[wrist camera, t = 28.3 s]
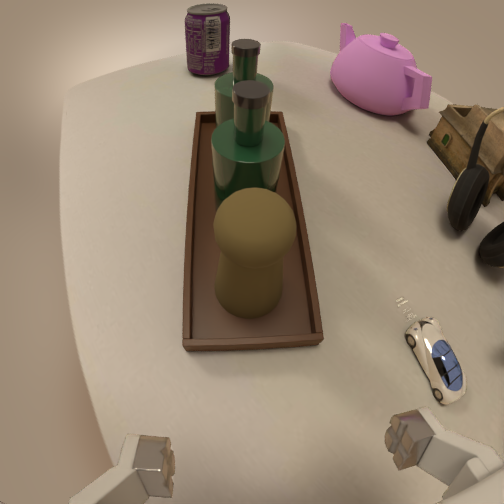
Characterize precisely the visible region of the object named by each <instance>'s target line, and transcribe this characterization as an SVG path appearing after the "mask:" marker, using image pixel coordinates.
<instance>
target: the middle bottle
mask: <svg viewBox="0 0 504 504" xmlns="http://www.w3.org/2000/svg"><path fill="white" fill-rule="evenodd" d="M269 97H270V88H269V87H268V86H267V85H266V84H264V83H262V82H259V81H254V80H245V81H241V82H238V83H236V84H235V85H234V86H233V88H232V101H233V103H234V118H233V119H230V120H227V121H225V122H223V123H221V124H220V125H219V126H217V127H216V129H215V130H214V131H213V133H212V137H211V146H212V165H213V183H214V199H215V210H216V212H217V209H218V208H219V206H220V205H221V204H222V202H223V201H224V200H225V199H226V198H228V197H229V196H230V195H232V194H233V193H234V192H237V191H239V190H242V189H245V188H255V187H256V188H263V189H267V190H270V191H272V192H275V193H276V192H277V186H278V180H279V174H280V169H281V163H282V157H283V151H284V146H285V138H284V135H283V133H282V132H281V130H280V129H279V128H278V127H277V126H275V125H274V124H272V123H270V122H268V121H266V120H265V115H266V106H267V104H268V103H269Z"/></svg>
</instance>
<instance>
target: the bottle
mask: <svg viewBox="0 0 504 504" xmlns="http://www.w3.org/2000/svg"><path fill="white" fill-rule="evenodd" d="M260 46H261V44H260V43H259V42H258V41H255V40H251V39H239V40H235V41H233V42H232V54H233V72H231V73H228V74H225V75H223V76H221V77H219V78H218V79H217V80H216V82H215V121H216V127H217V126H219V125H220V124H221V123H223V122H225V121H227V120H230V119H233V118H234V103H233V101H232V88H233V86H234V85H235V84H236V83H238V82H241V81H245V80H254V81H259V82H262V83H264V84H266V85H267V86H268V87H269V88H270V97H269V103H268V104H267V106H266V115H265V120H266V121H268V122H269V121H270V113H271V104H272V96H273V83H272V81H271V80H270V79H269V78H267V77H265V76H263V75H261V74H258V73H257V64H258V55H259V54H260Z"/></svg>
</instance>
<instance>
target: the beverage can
mask: <svg viewBox="0 0 504 504" xmlns="http://www.w3.org/2000/svg"><path fill="white" fill-rule="evenodd" d="M187 12H188V14H187V16H186V18H185V35H186V52H187V67H188V70H189V71H191V72H192V73H195V74H200V75H214V74H217V73H220V72H222V71H224V70H226V69H227V68H228V67H229V35H230V16H229V14H228V12H227V7H226V6H225V5H221V4H200V5H195V6H192V7H190V8H188V9H187Z"/></svg>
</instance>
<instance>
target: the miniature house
mask: <svg viewBox="0 0 504 504" xmlns="http://www.w3.org/2000/svg"><path fill="white" fill-rule="evenodd" d="M495 110H497V109H492V108H485V107H480V106H479V105H474V106H463V105H454V104H453V105H449V104H448V106H447V108H446V109H445V110H444V111H439V113H440V114H441V115H442V117H441V119H440V121H439V123H438V125H437V127H436V128H435V129H434V130H433V131H431V132H430V134H429V135H430V136H431V138H430V139H429V140H428V142H427V143H428V145H429V146H430V147H431V148H432V149H433V151H434V152H435V153H436V154H437V156H438V157H439V158H440V159H441V161H442V162H443V163H444V164H445V166H446V167H447V168H448V170H449V171H450V172H451V173H452V175H453V176H454V177H455V179H456V180H457V179H458V177H459V175H460V174H461V172H462V171H463V170H464V169H465V168H467V164H468V161H469V157H470V153H471V150H472V146H473V143H474V140H475V137H476V134H477V132H478V130H479V128H480V126H481V124H482V122H483V120H485V119H486V117H487V116H488V115H490V114H491V113H492V112H494V111H495ZM477 164H479V165H482V166H483V167H485V168H486V169H487V170H488V172H489V175H490V177H489V184H488V188H487V191H486V194H485V197H484V199H483V202H482V204H483V205H484V207H485V206H487V205H488V204H489V203H490V198H491V195H492V194H493V193H497V194H498V196H499V197H500V199H501V200H504V112H501V113H499V114H497V115H496V116H494V117H493V118H492V119H491V120H490V121H489V123H488V127H487V129H486V131H485V134H484V136H483V139H482V142H481V146H480V150H479V155H478V160H477Z"/></svg>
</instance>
